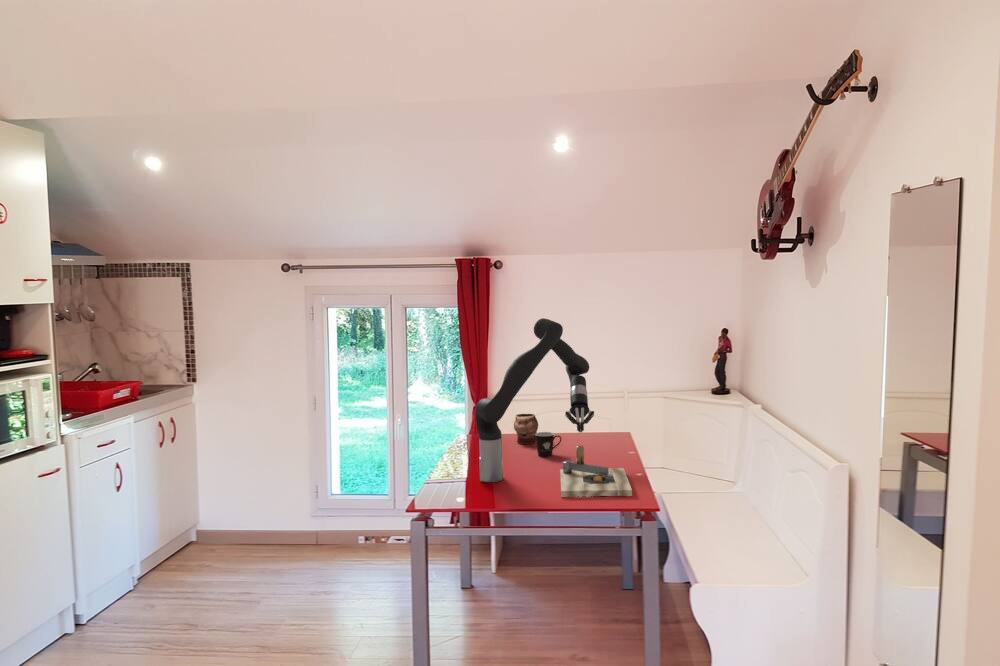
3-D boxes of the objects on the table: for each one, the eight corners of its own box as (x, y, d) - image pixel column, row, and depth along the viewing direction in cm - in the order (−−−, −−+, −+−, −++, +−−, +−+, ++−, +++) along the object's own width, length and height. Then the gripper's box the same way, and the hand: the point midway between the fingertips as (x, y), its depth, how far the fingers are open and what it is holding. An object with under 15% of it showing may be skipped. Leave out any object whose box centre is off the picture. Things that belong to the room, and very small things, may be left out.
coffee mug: (534, 457, 303) (533, 436, 302) (537, 452, 311) (536, 431, 310) (559, 458, 300) (558, 436, 299) (562, 453, 308) (561, 432, 308)
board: (561, 497, 246) (561, 491, 246) (560, 475, 274) (560, 469, 274) (632, 496, 244) (631, 489, 244) (623, 474, 272) (623, 468, 272)
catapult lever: (561, 472, 269) (560, 445, 268) (565, 470, 271) (565, 443, 271) (605, 479, 257) (605, 450, 256) (610, 477, 260) (609, 448, 259)
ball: (590, 483, 260) (597, 483, 262) (597, 485, 257) (603, 485, 260) (592, 474, 260) (598, 474, 263) (598, 476, 258) (604, 476, 260)
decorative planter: (516, 437, 344) (515, 410, 343) (539, 436, 342) (538, 410, 341) (512, 446, 324) (511, 418, 323) (537, 446, 323) (536, 418, 322)
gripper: (563, 392, 290) (564, 426, 278) (594, 392, 288) (596, 426, 277) (563, 402, 295) (565, 436, 284) (593, 401, 294) (596, 435, 283)
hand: (580, 431), depth 281 cm, fingers closed
